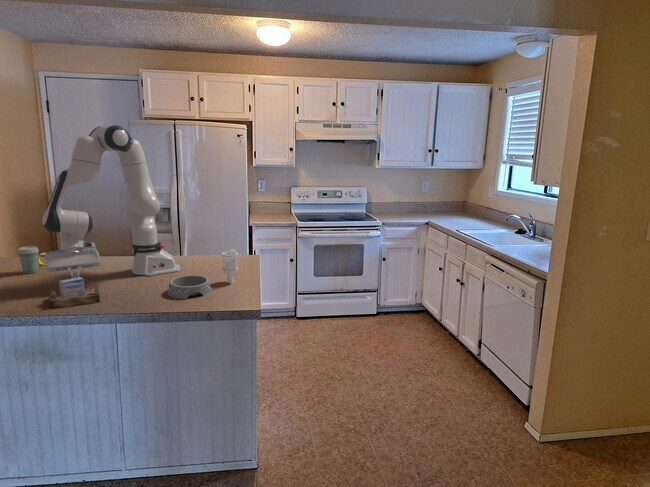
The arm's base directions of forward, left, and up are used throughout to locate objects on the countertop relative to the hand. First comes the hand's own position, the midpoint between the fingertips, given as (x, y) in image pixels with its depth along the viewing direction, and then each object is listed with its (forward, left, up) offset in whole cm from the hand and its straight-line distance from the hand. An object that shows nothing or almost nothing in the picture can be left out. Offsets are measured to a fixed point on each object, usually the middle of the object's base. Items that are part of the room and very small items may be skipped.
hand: (75, 277), depth 187 cm
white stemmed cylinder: (-62, +12, -7) cm, 64 cm away
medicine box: (+1, +9, -7) cm, 11 cm away
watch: (+15, -53, -7) cm, 55 cm away
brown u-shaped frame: (+1, +9, -7) cm, 12 cm away
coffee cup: (+20, -41, -7) cm, 46 cm away
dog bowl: (-43, +18, -8) cm, 47 cm away
